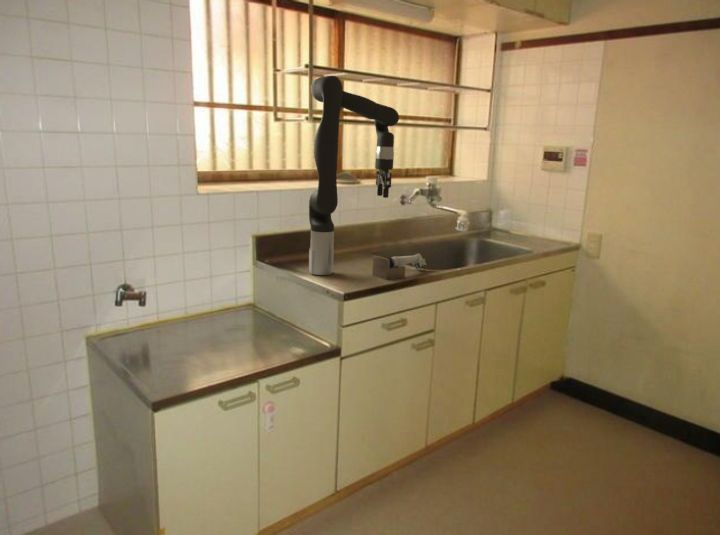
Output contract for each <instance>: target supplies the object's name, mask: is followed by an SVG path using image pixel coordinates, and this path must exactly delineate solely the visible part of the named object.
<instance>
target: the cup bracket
mask: <svg viewBox="0 0 720 535" xmlns="http://www.w3.org/2000/svg"><path fill="white" fill-rule="evenodd" d="M371 275H372V276H374V277H376V278H380V279H382V280H385V281H389V280H396V279H405V277H406V265H401V266H398V267H391V268H390V260H389V259H388V258H385V257H382V256H379V255H372V274H371Z"/></svg>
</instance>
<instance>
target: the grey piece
mask: <svg viewBox="0 0 720 535" xmlns="http://www.w3.org/2000/svg"><path fill="white" fill-rule="evenodd" d="M387 259H389V260H390V268H391V267H400V266H406V265H409V264H412V265H413V266H414V268H415V270H419V268H423V267H424V268H425V267H426V266H427V263H426V258H423V256H422V255H421V253H416V254H413V255H402V256H395V255H393V256H392V257H388V258H387Z"/></svg>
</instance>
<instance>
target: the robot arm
mask: <svg viewBox="0 0 720 535" xmlns="http://www.w3.org/2000/svg"><path fill="white" fill-rule="evenodd" d="M310 92H311V95H312V97H313V98H314V99H315V101H317V102H320V103H322V115H321V120H320V122H319V124H318V127H317V128H316V131H315V134H314V140H313V142H314V143H313V157H314V158H313V159H314V162H315V167H316V170H317V176H318V187H317V189H316V190H314V191H313V192H312V193H311V195H310V196H309V200H308V201H309V203H308V210H309V211H308V219H309V225H310V246H309V249H308V272H309V274H311V275H314V276H315V275H316V276H329V275H332V274H333V272H334V246H335V245H334V243H335V242H334V241H335V224H334V222H333V220H332V214H333V213H334V212H335V211H336V210H337V207H338V202H339V201H338V200H339V199H338V182H337V180H338V179H337V176H338V157H339V132H340V131H339V130H340V115H341V108H342V109H345V110H347V111H350V112H352V113H355V114H357V115H359V116H361V117H364V118H366V119H368V120H373V121H374V127H375V131H376V132H375V133H376V137H377V138H376V149H375V150H376V151H375V164H374V165H375V166H374V168H375V169H376V179H375V185H376V187H377V191H376V195H377V197H383V199H388V198H389V195H390V194H389V193H390V192H389V189H391V187H392V172H390V171H392V170H394V157H395V156H394V154H395V152H394V151H395V150H394V147H395V135H394V133H392V132H390V130H389V127H393V126H395V125H397V124H398V122H399V120H400V115H399V112H398V111H397V110H396V109H395V108H393V107H391V106H387V105H385V104H382V103H381V104H380V103H377V102H376V101H374V100H372V99H369V98H368V97H365V96H362V95H359V94H355V93H350V92H347V91H345V90H343V84H342V81H341V79H340V78H339V77H337V76H335V75H327V76H321V77H320V76H319V77H318V78H316V79H314V80H313V82H312V83H311V86H310Z"/></svg>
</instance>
